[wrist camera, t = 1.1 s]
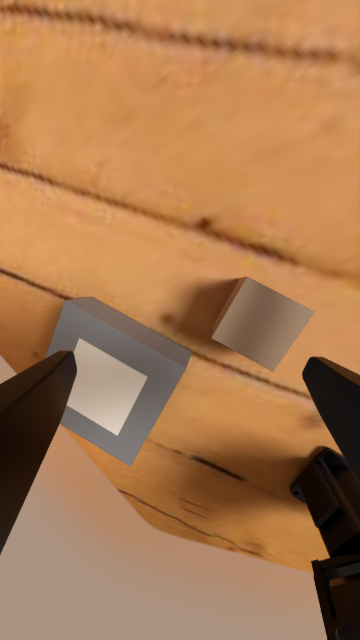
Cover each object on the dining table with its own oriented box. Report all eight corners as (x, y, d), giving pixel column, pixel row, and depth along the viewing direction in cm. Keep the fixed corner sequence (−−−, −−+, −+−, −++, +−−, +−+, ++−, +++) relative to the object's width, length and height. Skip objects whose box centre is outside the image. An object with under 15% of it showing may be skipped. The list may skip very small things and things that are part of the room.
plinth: (192, 351, 21) (185, 368, 17) (144, 436, 24) (129, 467, 20) (92, 296, 21) (64, 300, 17) (58, 384, 24) (28, 404, 20)
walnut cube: (289, 303, 18) (315, 311, 13) (259, 349, 19) (272, 371, 15) (239, 278, 19) (247, 276, 14) (213, 324, 20) (211, 338, 15)
